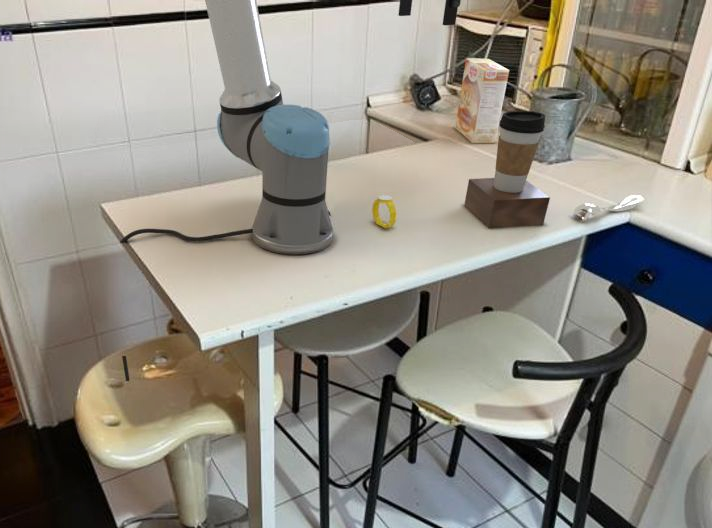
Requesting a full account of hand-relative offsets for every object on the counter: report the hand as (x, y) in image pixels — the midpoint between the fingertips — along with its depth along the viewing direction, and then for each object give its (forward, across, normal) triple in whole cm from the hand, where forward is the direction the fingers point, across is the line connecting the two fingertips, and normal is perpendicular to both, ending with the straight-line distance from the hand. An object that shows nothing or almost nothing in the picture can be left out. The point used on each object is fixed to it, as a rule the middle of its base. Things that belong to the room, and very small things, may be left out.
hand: (425, 20), depth 134 cm
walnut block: (+35, -24, -6) cm, 43 cm away
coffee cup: (+29, -24, -6) cm, 38 cm away
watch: (+35, -17, +20) cm, 44 cm away
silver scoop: (+35, -34, -28) cm, 56 cm away
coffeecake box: (+35, +21, -43) cm, 59 cm away
